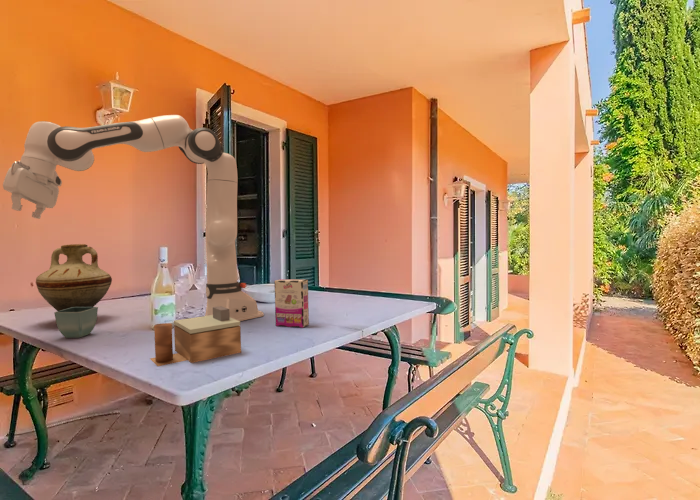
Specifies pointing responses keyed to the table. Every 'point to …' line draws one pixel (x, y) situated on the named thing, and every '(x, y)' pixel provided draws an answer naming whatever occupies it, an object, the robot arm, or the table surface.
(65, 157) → the robot arm
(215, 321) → the lid
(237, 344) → the crate
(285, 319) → the candy bar box
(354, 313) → the table surface
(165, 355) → the brown wooden cylinder
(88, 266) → the amphora
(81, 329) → the flower pot
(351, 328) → the table surface
